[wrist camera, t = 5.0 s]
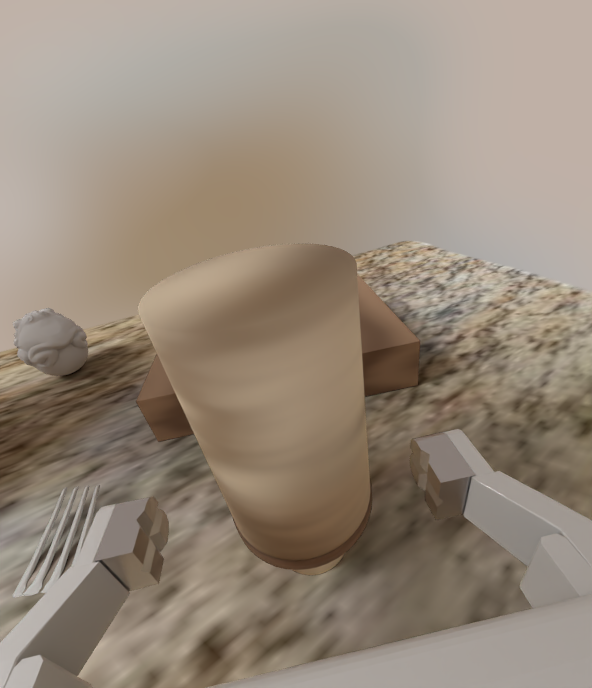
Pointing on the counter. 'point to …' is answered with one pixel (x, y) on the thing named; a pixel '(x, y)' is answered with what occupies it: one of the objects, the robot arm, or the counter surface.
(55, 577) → the fork
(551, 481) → the counter surface
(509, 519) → the robot arm
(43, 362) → the frog figurine
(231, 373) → the maple leg
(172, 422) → the walnut board
